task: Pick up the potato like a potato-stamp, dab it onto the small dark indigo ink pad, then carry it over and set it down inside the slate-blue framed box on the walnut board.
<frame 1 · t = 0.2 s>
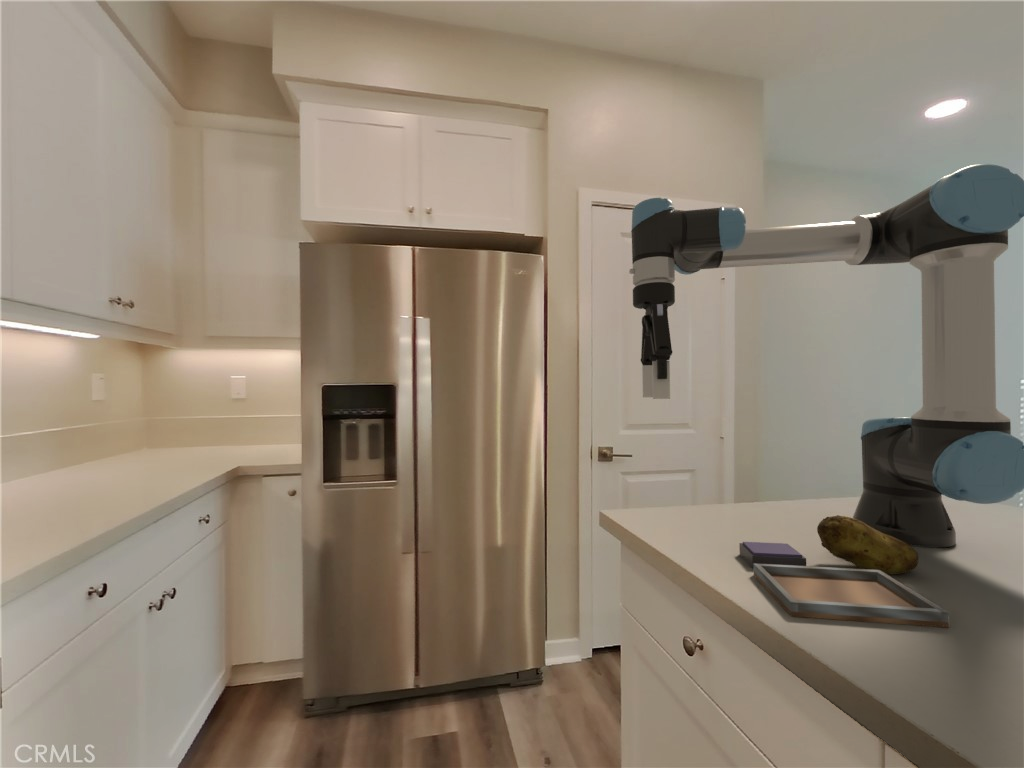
hand: (655, 398, 81), 28 cm above the worktop, fingers open, 13 cm apart
print board: (838, 597, 60), on the worktop
ink pad: (771, 562, 73), on the worktop
potato: (866, 569, 70), on the worktop
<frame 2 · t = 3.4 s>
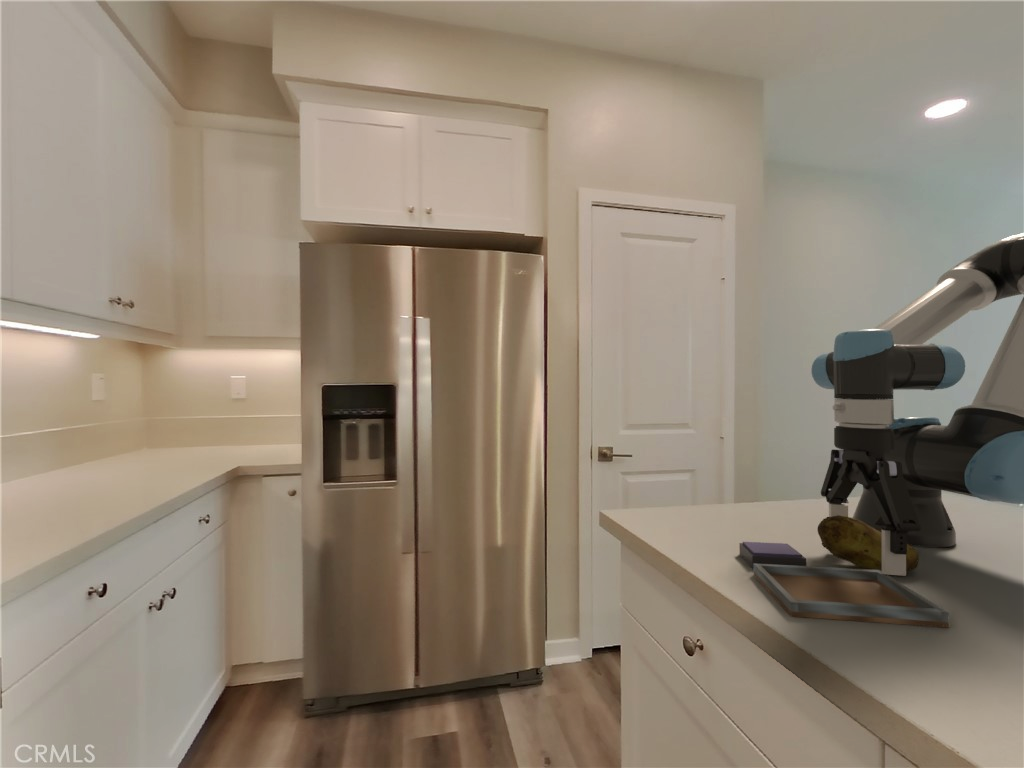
hand: (863, 557, 70), 2 cm above the worktop, fingers open, 13 cm apart
nothing on the worktop moved.
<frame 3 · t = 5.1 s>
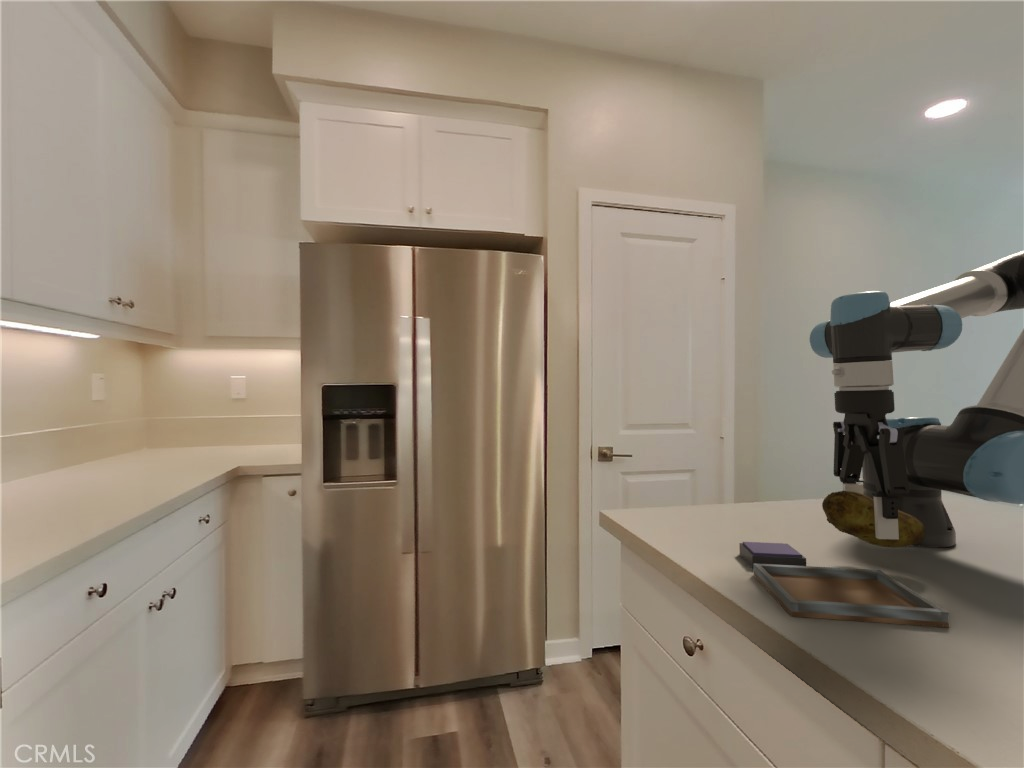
hand: (869, 529, 70), 6 cm above the worktop, fingers closed on potato, 7 cm apart
potato: (872, 543, 70), point 4 cm above the worktop, touching gripper
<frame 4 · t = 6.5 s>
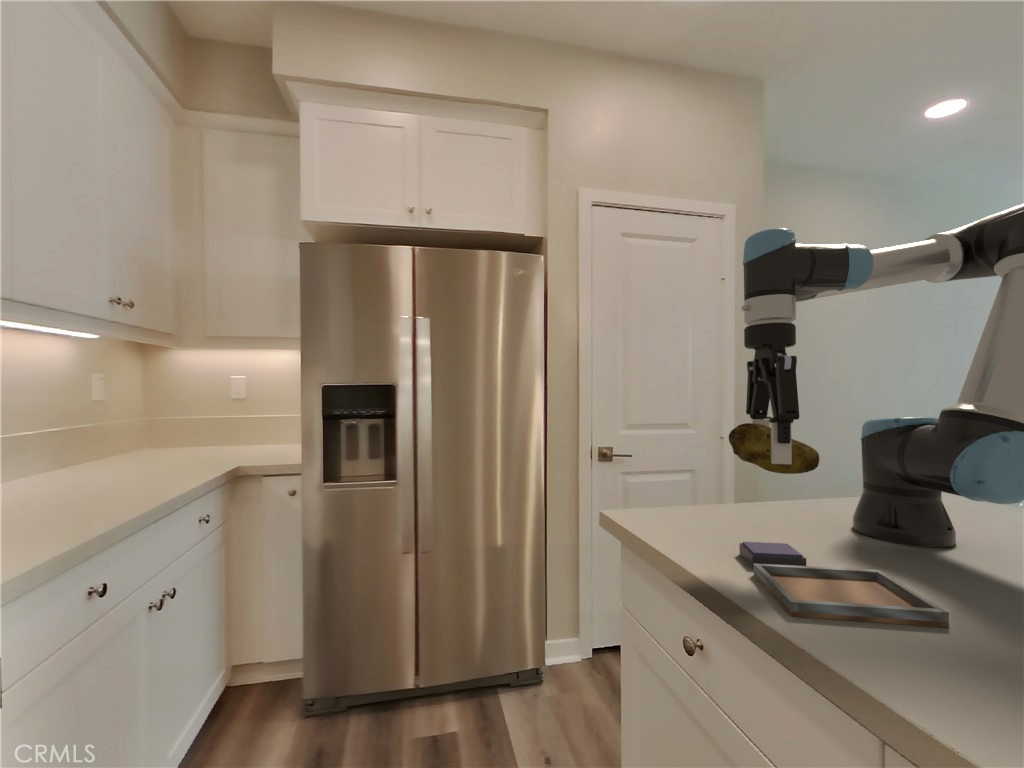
hand: (770, 459, 73), 17 cm above the worktop, fingers closed on potato, 7 cm apart
potato: (772, 472, 73), point 15 cm above the worktop, touching gripper
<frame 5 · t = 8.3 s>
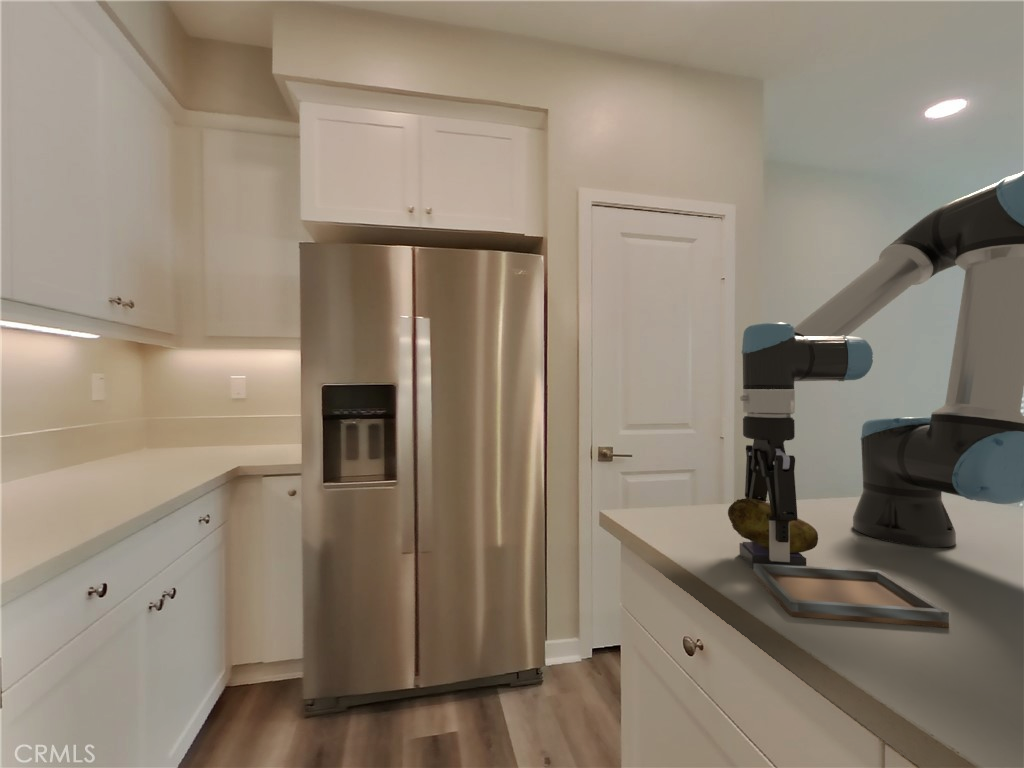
hand: (768, 551, 73), 2 cm above the worktop, fingers closed on potato, 7 cm apart
potato: (771, 549, 73), point 2 cm above the worktop, touching gripper, ink pad
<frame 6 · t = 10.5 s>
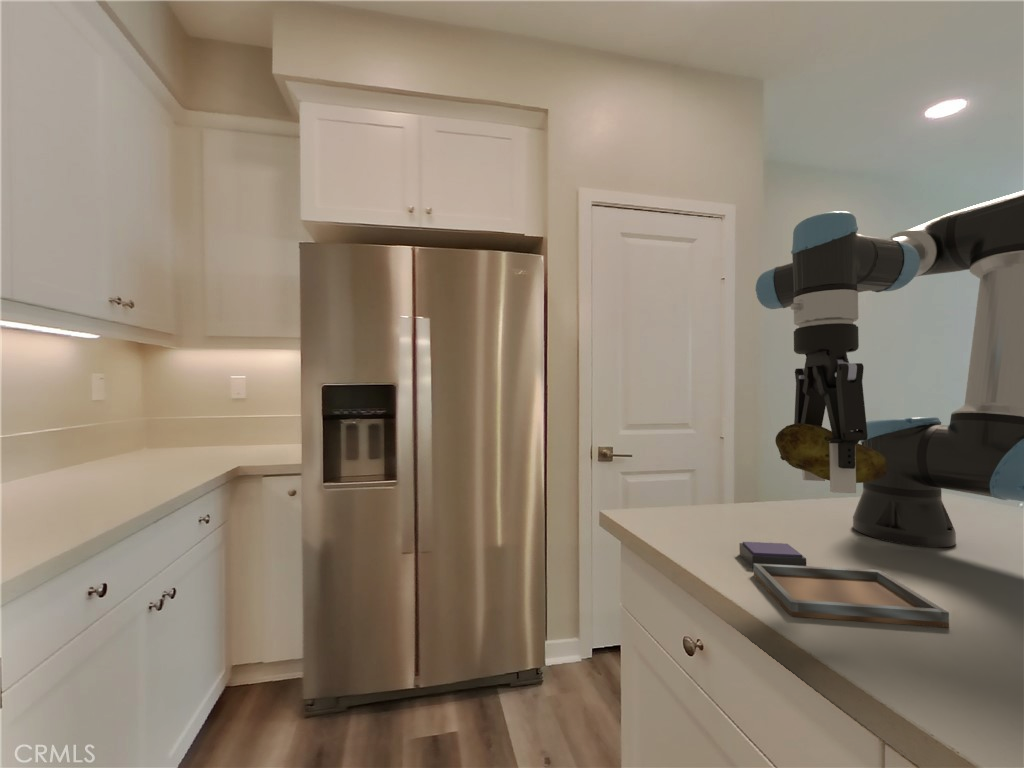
hand: (827, 485, 62), 15 cm above the worktop, fingers closed on potato, 7 cm apart
potato: (829, 481, 61), point 16 cm above the worktop, touching gripper
when the fingers open (3 cm above the worktop, at t = 12.4 s): potato drops 3 cm, resting on print board.
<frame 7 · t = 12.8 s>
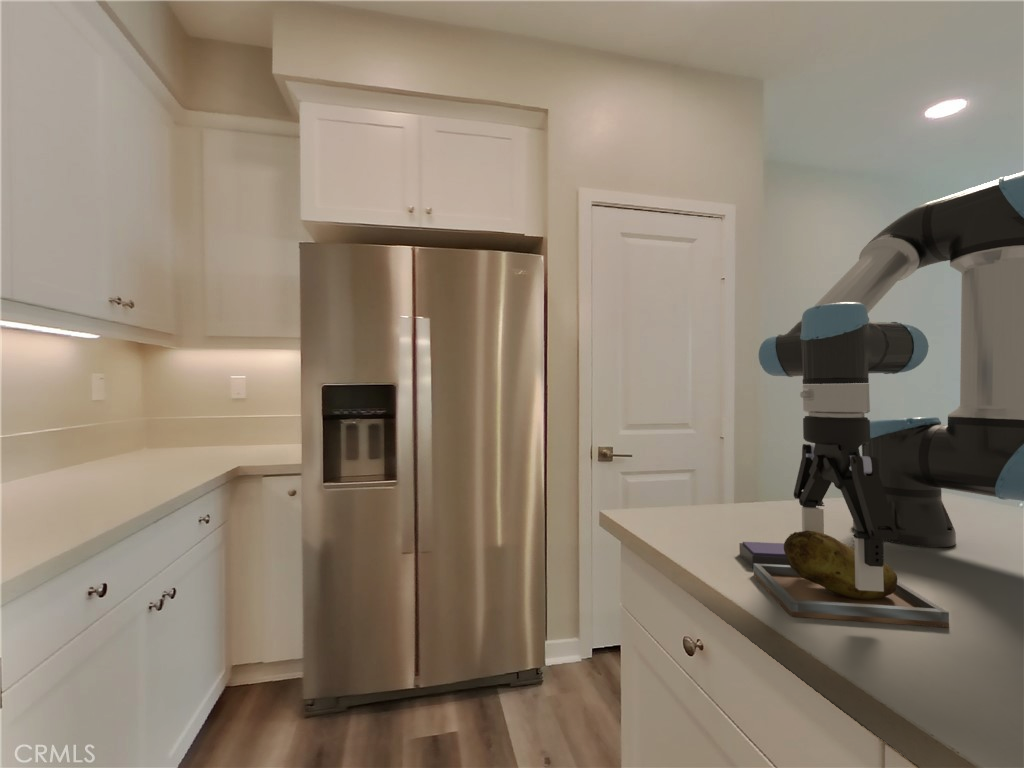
hand: (838, 567, 60), 4 cm above the worktop, fingers open, 13 cm apart
potato: (839, 593, 61), resting on print board
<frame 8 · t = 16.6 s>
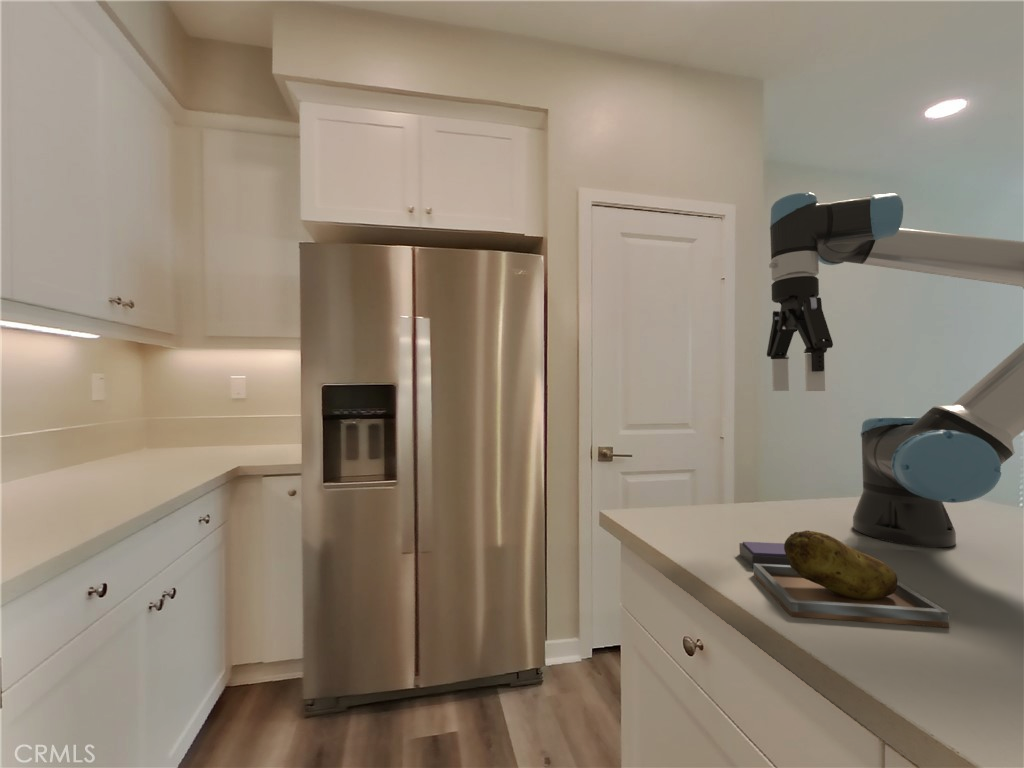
hand: (796, 391, 82), 29 cm above the worktop, fingers open, 13 cm apart
nothing on the worktop moved.
at the end: potato inside the target area on the print board (0.4 cm from its centre), point 0.4 cm above the print board's base; the gripper is holding nothing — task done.
